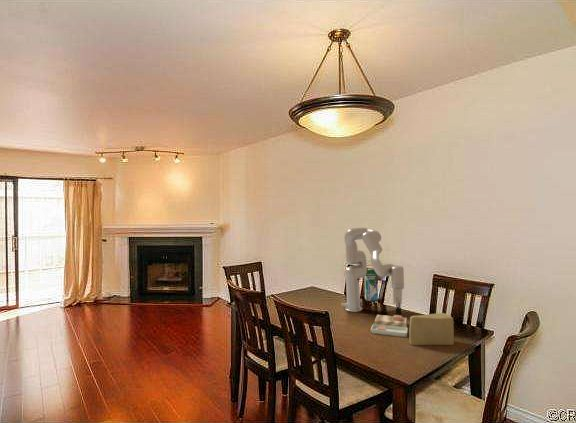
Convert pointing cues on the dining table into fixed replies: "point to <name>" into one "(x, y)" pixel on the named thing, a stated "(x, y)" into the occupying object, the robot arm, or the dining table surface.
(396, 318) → the tile
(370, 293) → the milk carton
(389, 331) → the tray
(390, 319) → the white food package
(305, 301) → the dining table surface
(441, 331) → the tan rounded block
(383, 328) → the tile
